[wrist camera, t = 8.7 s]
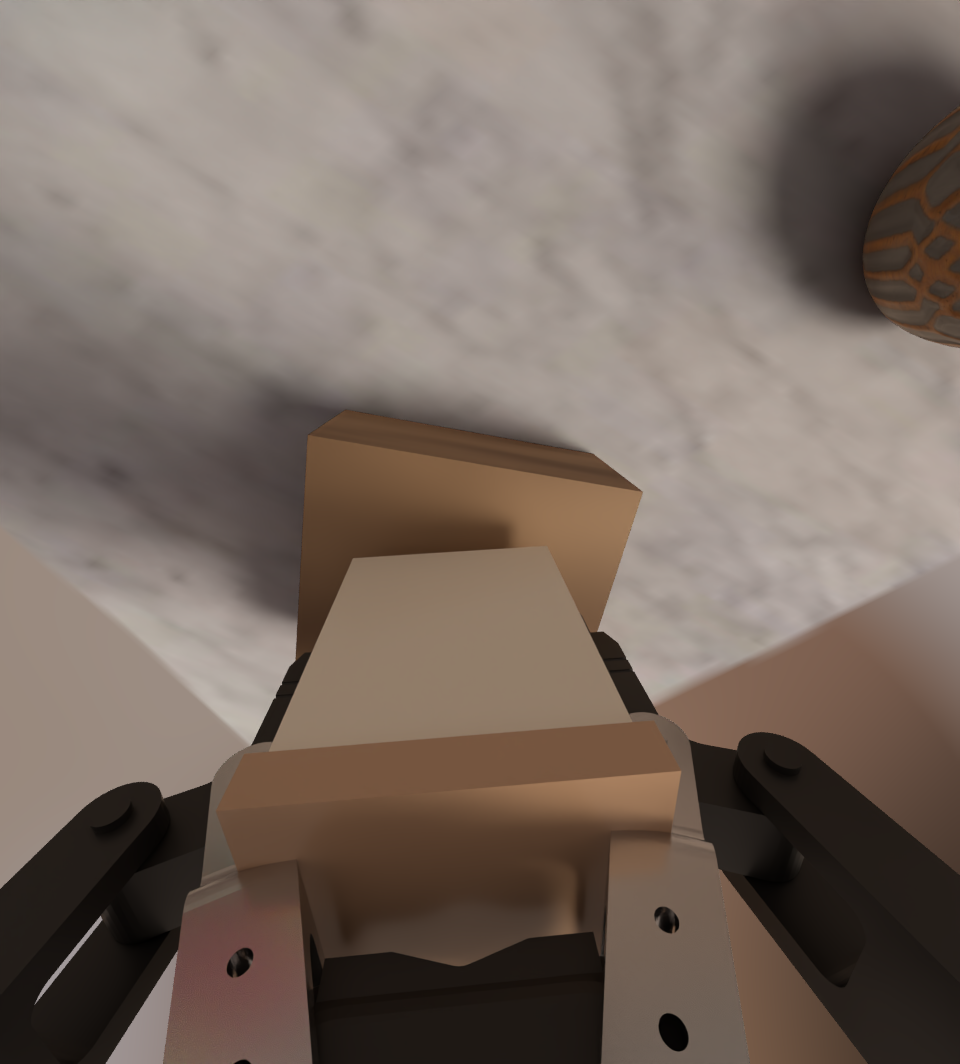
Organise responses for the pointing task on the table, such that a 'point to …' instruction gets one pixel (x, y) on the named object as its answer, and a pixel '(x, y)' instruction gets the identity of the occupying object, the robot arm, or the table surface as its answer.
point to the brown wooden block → (453, 506)
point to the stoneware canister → (451, 762)
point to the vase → (920, 239)
